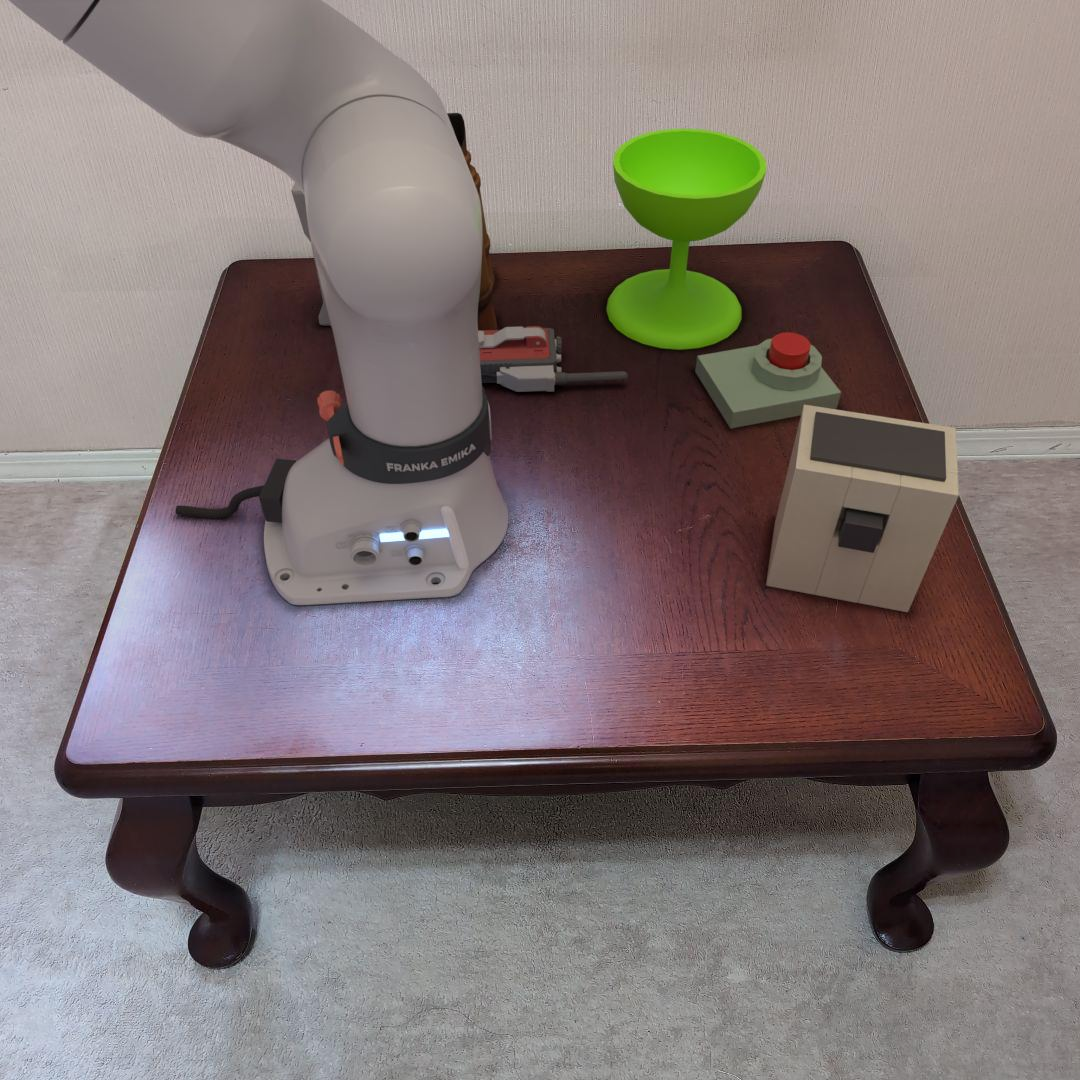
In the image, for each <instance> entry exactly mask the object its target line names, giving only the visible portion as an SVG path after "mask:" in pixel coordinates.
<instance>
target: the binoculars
mask: <svg viewBox="0 0 1080 1080" xmlns="http://www.w3.org/2000/svg"><path fill="white" fill-rule="evenodd" d="M447 115H448V117H449V120H450V122H451V125H452V128H453V130H454V133H455V136H456V138H457V141H458V143H459V145H460V147H461V150H462V152H463V155H464V157H465V160H466V163H467V165H468V168H469V170H470V173H471V176H472V178H473V181H474V184H475V186H476V189H477V192H478V195H479V198H480V203H481V213H482V230H483V241H482V262H481V283H480V294H479V303H478V331H480V330H498V322H497V317H496V312H495V307H494V301H493V294H494V285H495V275H494V269H493V264H492V259H491V253H490V251H491V250H490V249H491V239H490V235H489V234H488V232H487V225H486V219H485V212H484V211H485V210H484V206H483V200H482V199H483V198H482V193H481V185H482V182H481V181H482V180H481V176H480V174H479V173H478V172H477V169H476V167H475V166H473V164H471V162H472V154H471V152H470V150H468V148H467V147H468V146H467V133H466V124H465V120H464V117H463V115H462V114H461V113H460V112H447Z"/></svg>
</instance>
